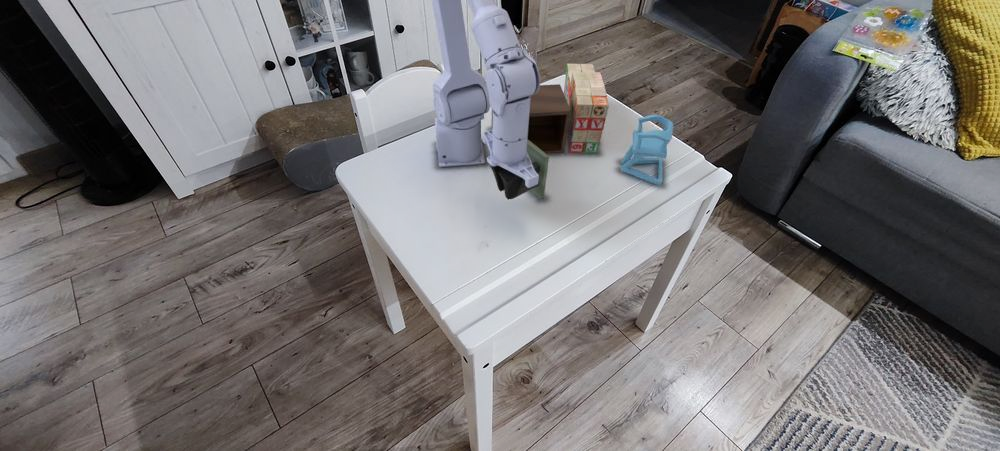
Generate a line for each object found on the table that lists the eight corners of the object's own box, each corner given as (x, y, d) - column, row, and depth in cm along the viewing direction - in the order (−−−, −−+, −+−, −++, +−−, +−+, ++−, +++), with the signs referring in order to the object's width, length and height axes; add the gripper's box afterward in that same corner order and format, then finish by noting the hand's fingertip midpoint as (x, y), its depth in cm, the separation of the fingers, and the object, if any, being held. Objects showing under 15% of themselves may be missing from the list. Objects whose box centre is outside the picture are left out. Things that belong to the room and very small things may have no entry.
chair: (621, 155, 98) (635, 106, 89) (661, 161, 97) (678, 113, 88) (619, 178, 93) (633, 129, 84) (661, 185, 92) (679, 136, 83)
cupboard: (564, 153, 98) (570, 110, 90) (496, 157, 96) (497, 115, 89) (554, 125, 105) (560, 84, 97) (491, 129, 103) (491, 87, 95)
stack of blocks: (562, 98, 112) (568, 50, 103) (587, 98, 112) (596, 51, 103) (569, 153, 98) (577, 103, 89) (598, 154, 98) (609, 104, 89)
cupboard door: (513, 214, 85) (515, 172, 78) (469, 172, 93) (467, 130, 85) (544, 197, 88) (549, 156, 81) (498, 158, 96) (499, 117, 88)
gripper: (466, 116, 76) (469, 177, 86) (514, 164, 68) (511, 225, 78) (502, 104, 79) (500, 164, 89) (552, 149, 71) (544, 210, 81)
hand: (507, 192), depth 84 cm, fingers closed
